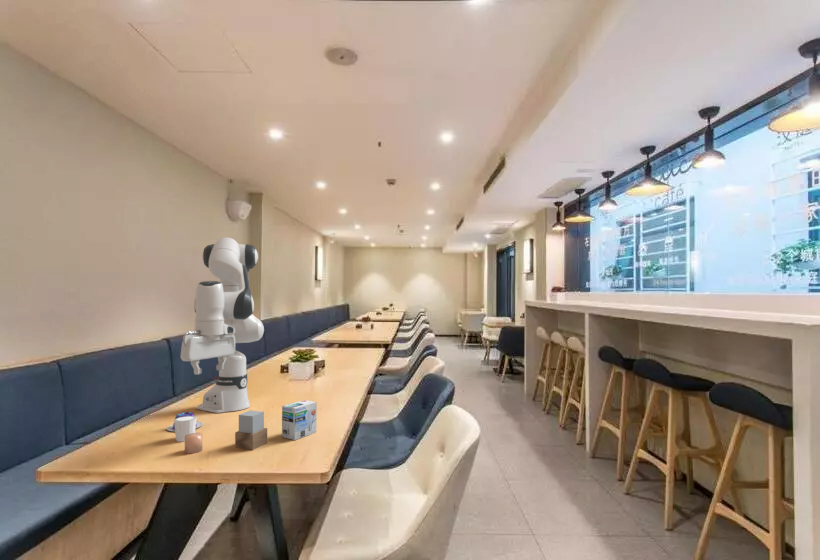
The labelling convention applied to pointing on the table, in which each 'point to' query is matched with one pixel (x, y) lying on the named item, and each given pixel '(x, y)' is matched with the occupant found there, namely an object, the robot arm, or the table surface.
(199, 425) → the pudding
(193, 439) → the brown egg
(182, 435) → the shot glass
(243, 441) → the tower base
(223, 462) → the table surface
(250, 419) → the tower mid
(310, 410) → the light bulb box
